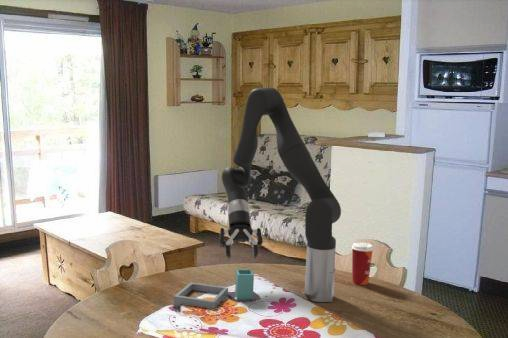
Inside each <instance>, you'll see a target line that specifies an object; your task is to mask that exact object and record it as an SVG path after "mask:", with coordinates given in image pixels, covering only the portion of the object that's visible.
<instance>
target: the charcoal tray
mask: <svg viewBox="0 0 508 338" xmlns="http://www.w3.org/2000/svg"><path fill="white" fill-rule="evenodd" d="M192 291H197V292H204V293H211V294H217V295H216V296H215V297H214V298H213V299H205V298H198V297H191V296H187V295H189V293H191V292H192ZM228 295H229V287H225V286H218V285H212V284H203V283H198V282H197V283H196V282H189V283H188V284H187V285H186V286H184V287H183V288H182V289H181V290H180V291H179V292H177V293H176V294H175V295H173V308H176V309H182V305H187V306H193V307H201V308H206V309H212V310H213V309H215V308H216V307H217V306H218V305H219V304H220V303H221V302H222V301H223V300H224V299H225V298H226V297H228Z"/></svg>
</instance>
